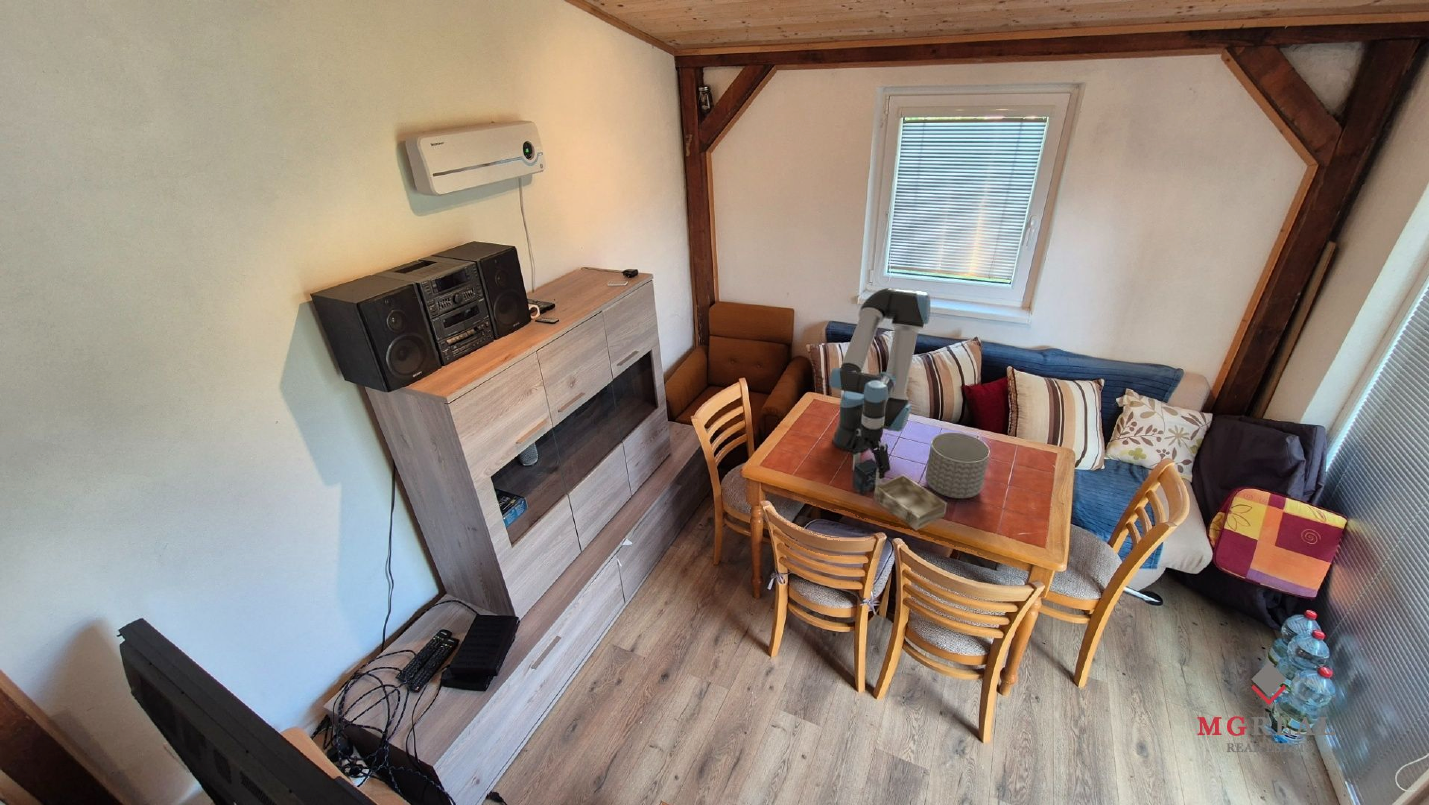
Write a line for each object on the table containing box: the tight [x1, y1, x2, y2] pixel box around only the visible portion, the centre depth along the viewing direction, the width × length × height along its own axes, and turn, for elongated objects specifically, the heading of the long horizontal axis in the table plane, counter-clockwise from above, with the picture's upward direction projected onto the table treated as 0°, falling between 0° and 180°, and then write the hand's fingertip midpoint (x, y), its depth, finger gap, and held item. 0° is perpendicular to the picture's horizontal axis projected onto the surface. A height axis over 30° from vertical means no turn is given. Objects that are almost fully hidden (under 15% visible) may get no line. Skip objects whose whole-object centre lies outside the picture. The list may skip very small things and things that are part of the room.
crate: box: [873, 473, 948, 531], centre depth 195 cm, size 20×14×6 cm
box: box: [851, 458, 878, 496], centre depth 204 cm, size 8×6×11 cm
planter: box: [925, 431, 991, 499], centre depth 200 cm, size 19×19×18 cm
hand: (867, 476), depth 203 cm, fingers open, 11 cm apart
